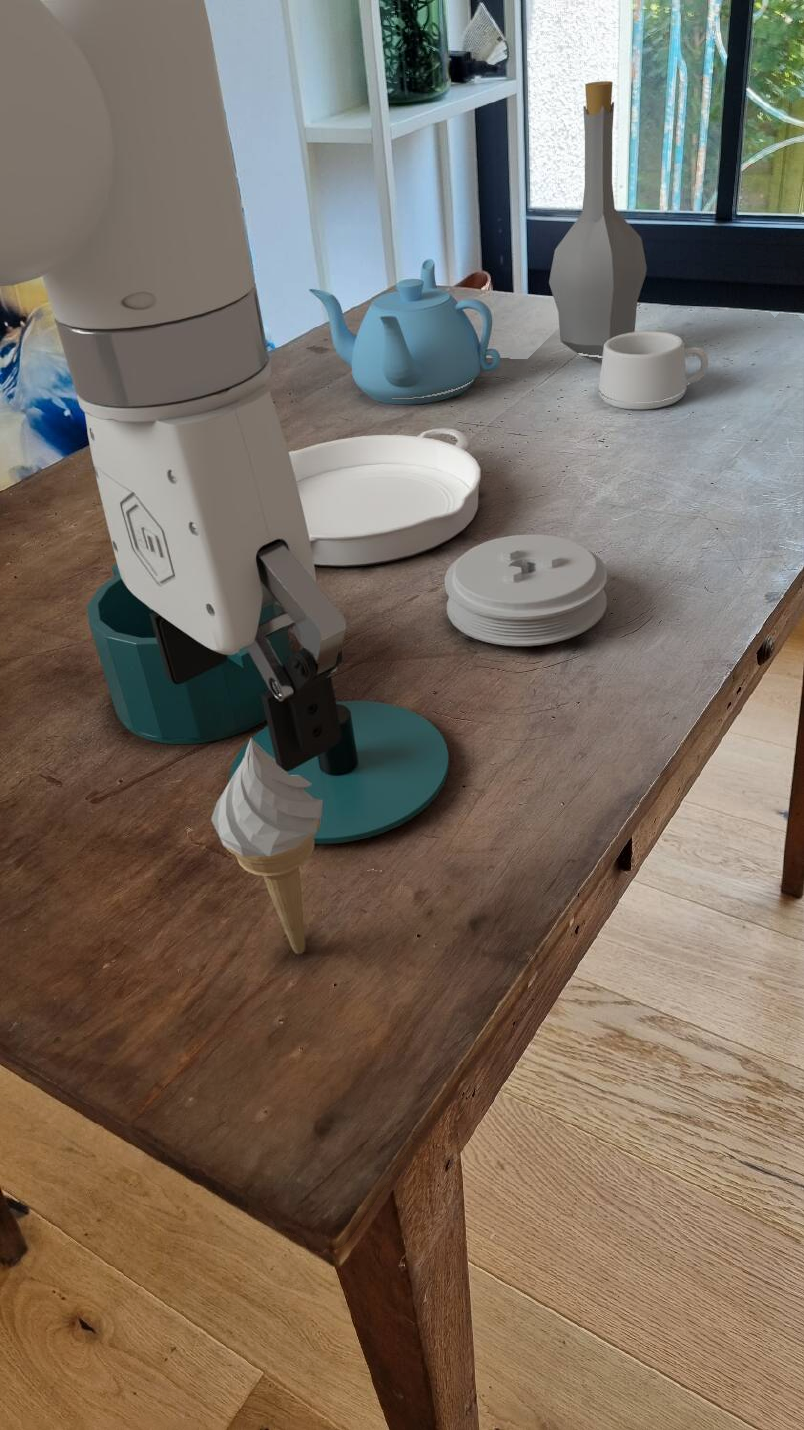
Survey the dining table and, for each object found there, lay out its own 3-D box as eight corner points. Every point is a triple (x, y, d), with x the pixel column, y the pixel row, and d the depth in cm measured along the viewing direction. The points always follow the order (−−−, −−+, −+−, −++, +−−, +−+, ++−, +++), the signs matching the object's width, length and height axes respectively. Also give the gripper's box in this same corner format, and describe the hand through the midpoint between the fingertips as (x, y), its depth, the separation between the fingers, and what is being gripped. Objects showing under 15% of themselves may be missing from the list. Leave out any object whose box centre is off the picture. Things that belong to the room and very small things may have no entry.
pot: (191, 786, 75) (163, 682, 70) (72, 679, 87) (41, 585, 83) (352, 702, 81) (336, 601, 76) (218, 613, 94) (198, 522, 89)
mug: (604, 415, 121) (604, 361, 118) (594, 385, 129) (594, 333, 126) (715, 406, 121) (719, 350, 117) (698, 376, 128) (701, 324, 125)
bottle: (645, 375, 130) (654, 85, 113) (549, 379, 133) (543, 95, 115) (643, 345, 139) (651, 72, 122) (553, 349, 142) (548, 81, 124)
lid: (491, 565, 96) (488, 512, 93) (630, 591, 90) (631, 535, 87) (419, 637, 87) (413, 582, 85) (567, 670, 82) (566, 612, 79)
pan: (179, 538, 107) (170, 500, 104) (374, 442, 122) (370, 407, 119) (358, 609, 92) (352, 566, 90) (554, 490, 107) (553, 451, 105)
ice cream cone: (369, 946, 61) (333, 729, 53) (295, 1009, 58) (243, 789, 50) (301, 902, 65) (257, 691, 56) (228, 959, 62) (169, 745, 53)
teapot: (317, 389, 138) (302, 287, 131) (437, 351, 146) (429, 252, 138) (394, 423, 126) (383, 313, 119) (521, 379, 133) (517, 273, 126)
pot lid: (314, 886, 66) (301, 821, 63) (192, 778, 75) (176, 717, 73) (495, 775, 73) (491, 711, 70) (361, 689, 82) (353, 630, 79)
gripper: (-11, 336, 46) (98, 675, 56) (196, 432, 35) (288, 837, 45) (147, 290, 50) (223, 616, 60) (383, 363, 38) (429, 752, 48)
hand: (251, 710), depth 52 cm, fingers open, 9 cm apart
